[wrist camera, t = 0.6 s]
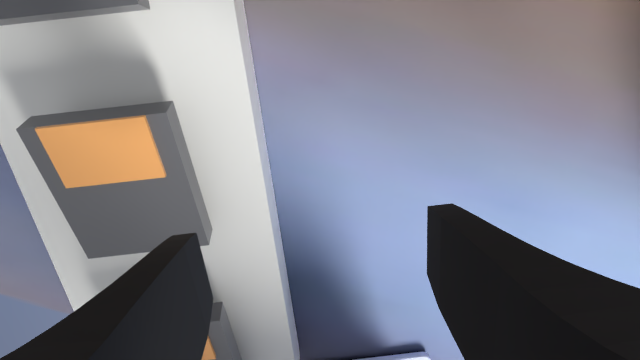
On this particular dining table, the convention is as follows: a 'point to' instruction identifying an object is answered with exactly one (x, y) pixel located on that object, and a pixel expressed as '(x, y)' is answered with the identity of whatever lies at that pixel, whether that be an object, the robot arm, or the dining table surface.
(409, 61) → the dining table surface
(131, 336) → the robot arm
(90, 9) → the outlet rocker
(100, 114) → the outlet rocker
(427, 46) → the dining table surface
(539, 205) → the dining table surface
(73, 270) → the power strip
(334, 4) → the dining table surface
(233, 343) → the rocker switch
